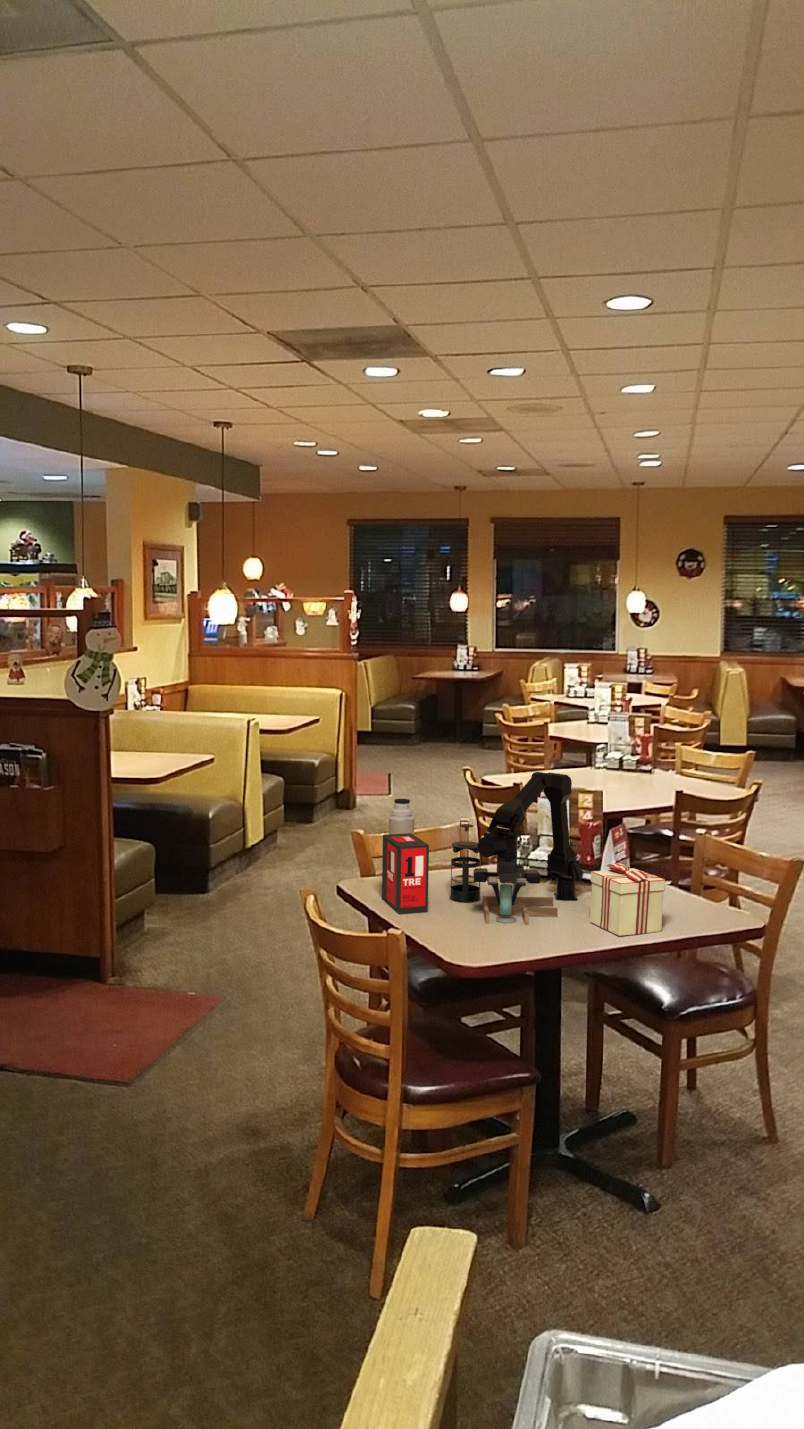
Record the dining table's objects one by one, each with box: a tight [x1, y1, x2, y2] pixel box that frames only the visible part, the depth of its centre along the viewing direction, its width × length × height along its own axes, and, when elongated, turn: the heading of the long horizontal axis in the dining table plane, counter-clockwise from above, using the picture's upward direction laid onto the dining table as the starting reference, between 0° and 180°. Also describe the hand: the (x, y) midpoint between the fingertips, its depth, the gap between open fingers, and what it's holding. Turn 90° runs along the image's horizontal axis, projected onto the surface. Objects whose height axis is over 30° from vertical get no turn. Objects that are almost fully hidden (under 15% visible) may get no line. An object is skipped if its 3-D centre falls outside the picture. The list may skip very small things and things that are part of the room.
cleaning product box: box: [381, 833, 430, 915], centre depth 326 cm, size 16×9×20 cm, turn 18°
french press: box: [449, 823, 482, 904], centre depth 335 cm, size 12×9×23 cm
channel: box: [481, 895, 558, 926], centre depth 320 cm, size 20×21×2 cm
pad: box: [495, 915, 518, 924], centre depth 314 cm, size 6×6×1 cm
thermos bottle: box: [388, 798, 415, 836], centre depth 347 cm, size 8×8×28 cm
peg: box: [498, 883, 513, 916], centre depth 315 cm, size 4×4×8 cm
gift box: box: [589, 862, 666, 937], centre depth 309 cm, size 17×18×17 cm
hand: (505, 905), depth 315 cm, fingers closed on peg, 3 cm apart
